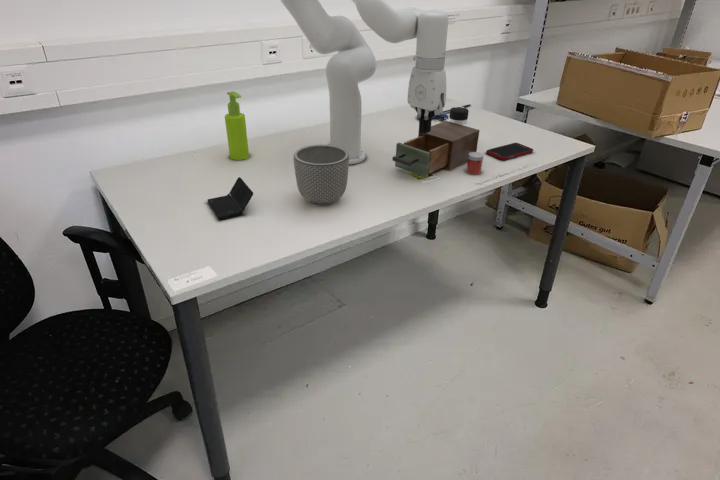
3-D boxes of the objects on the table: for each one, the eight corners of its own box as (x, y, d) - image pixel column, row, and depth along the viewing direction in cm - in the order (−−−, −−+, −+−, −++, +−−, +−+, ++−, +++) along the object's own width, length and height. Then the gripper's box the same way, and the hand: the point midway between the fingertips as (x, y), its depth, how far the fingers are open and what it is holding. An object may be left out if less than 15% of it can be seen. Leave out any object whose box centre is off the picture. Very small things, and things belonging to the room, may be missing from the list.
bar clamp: (434, 118, 182) (413, 112, 188) (433, 124, 183) (412, 118, 189) (482, 105, 202) (462, 99, 208) (481, 110, 203) (461, 105, 209)
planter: (326, 184, 137) (326, 140, 130) (359, 202, 128) (360, 155, 121) (285, 198, 129) (282, 152, 122) (317, 218, 120) (315, 169, 114)
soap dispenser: (237, 162, 149) (228, 96, 139) (226, 155, 154) (218, 91, 143) (254, 158, 152) (247, 93, 142) (243, 151, 157) (236, 88, 146)
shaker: (471, 175, 144) (473, 158, 141) (463, 170, 148) (465, 152, 145) (483, 173, 146) (486, 156, 143) (475, 168, 149) (478, 151, 146)
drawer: (415, 182, 137) (417, 158, 133) (384, 171, 144) (385, 147, 140) (452, 164, 148) (455, 141, 145) (422, 154, 155) (424, 132, 151)
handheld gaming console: (199, 199, 124) (219, 166, 123) (221, 207, 130) (241, 176, 129) (219, 222, 118) (241, 188, 116) (241, 230, 123) (262, 197, 122)
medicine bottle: (467, 146, 164) (472, 111, 158) (446, 146, 164) (450, 111, 158) (464, 139, 170) (468, 105, 164) (443, 139, 170) (447, 104, 164)
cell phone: (533, 152, 161) (534, 149, 160) (502, 161, 154) (503, 158, 153) (515, 144, 166) (516, 142, 166) (484, 153, 159) (485, 150, 159)
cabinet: (449, 170, 147) (453, 141, 142) (416, 158, 154) (418, 130, 150) (475, 157, 156) (479, 129, 152) (443, 147, 164) (446, 120, 159)
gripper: (398, 60, 129) (395, 128, 139) (442, 70, 120) (436, 142, 129) (417, 57, 134) (413, 123, 143) (461, 66, 124) (454, 135, 134)
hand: (424, 132), depth 136 cm, fingers closed
